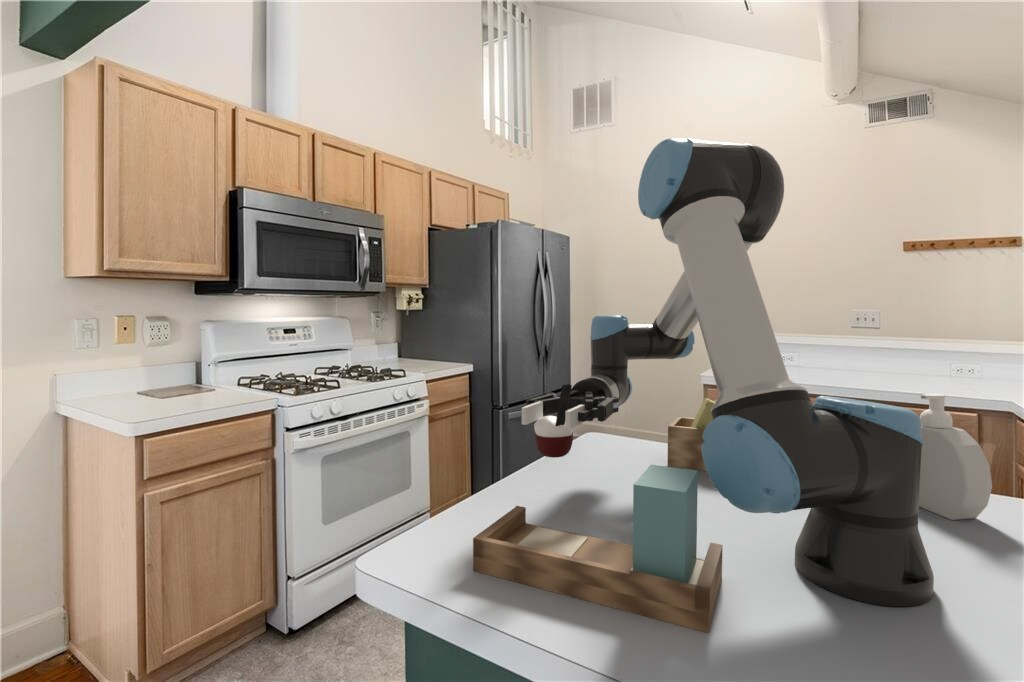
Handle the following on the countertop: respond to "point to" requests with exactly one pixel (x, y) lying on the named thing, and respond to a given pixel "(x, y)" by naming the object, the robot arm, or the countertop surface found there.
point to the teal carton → (665, 522)
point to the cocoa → (555, 430)
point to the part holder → (685, 445)
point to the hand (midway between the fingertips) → (545, 418)
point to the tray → (596, 571)
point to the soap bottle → (951, 466)
